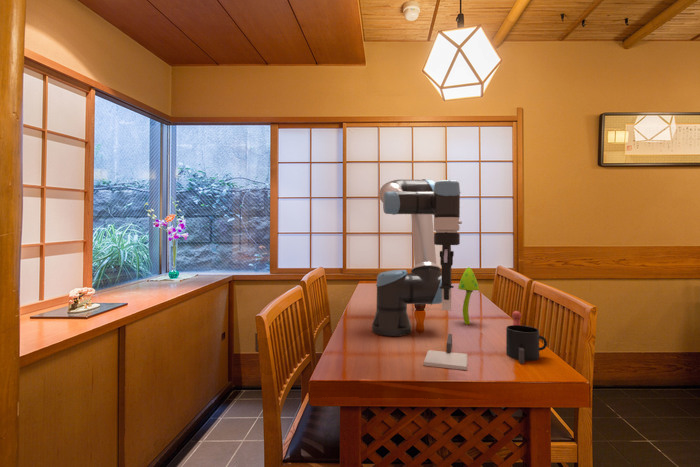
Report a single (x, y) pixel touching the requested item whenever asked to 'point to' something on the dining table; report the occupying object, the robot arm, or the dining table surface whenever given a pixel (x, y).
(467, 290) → the mushroom
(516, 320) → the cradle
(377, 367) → the dining table surface
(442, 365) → the plate
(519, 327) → the mug
